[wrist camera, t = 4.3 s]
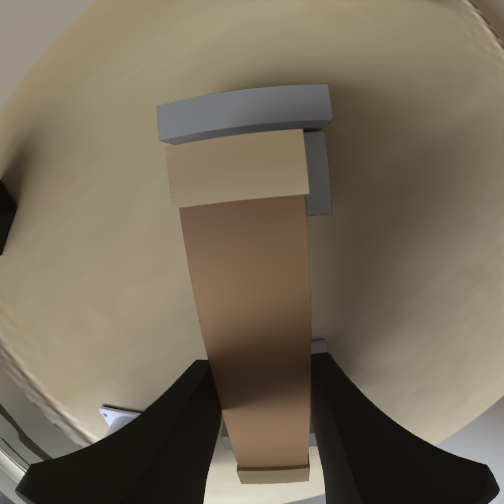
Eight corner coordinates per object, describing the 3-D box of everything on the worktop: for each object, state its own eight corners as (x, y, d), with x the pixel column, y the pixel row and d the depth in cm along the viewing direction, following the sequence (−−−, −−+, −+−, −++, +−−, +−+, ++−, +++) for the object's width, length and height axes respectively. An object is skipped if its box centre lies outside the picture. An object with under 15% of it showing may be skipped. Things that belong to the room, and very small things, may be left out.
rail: (302, 413, 15) (308, 481, 10) (248, 416, 15) (241, 483, 10) (288, 148, 11) (302, 129, 6) (208, 157, 11) (165, 146, 6)
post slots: (322, 396, 20) (330, 443, 15) (233, 402, 20) (225, 449, 16) (310, 110, 14) (327, 84, 10) (188, 124, 15) (156, 105, 10)
